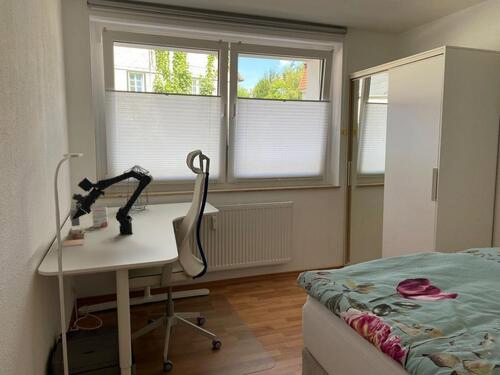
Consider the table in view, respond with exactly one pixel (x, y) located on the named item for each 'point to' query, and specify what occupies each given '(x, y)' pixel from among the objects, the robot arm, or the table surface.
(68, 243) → the rubber mat
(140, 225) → the table surface
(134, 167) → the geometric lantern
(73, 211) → the dark gray rectangular block
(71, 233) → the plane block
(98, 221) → the ink cartridge box
